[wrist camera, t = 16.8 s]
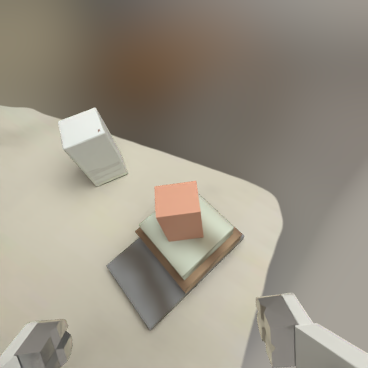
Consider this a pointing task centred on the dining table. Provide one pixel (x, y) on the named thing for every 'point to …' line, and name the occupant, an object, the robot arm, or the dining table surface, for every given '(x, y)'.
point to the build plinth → (147, 282)
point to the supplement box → (92, 147)
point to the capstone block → (179, 211)
